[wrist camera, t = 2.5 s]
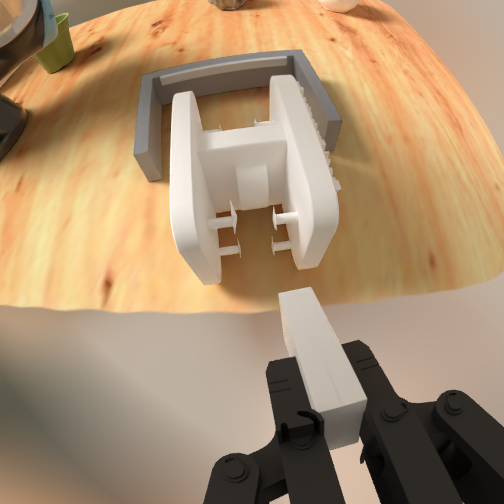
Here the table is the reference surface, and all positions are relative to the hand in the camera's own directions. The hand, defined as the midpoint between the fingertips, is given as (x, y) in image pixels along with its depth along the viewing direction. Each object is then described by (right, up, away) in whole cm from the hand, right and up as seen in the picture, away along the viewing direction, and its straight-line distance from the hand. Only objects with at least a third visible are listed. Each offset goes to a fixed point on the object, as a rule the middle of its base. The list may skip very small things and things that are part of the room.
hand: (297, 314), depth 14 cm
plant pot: (-44, +44, +32) cm, 70 cm away
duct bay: (-4, +19, +20) cm, 28 cm away
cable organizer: (-2, +7, +16) cm, 18 cm away
